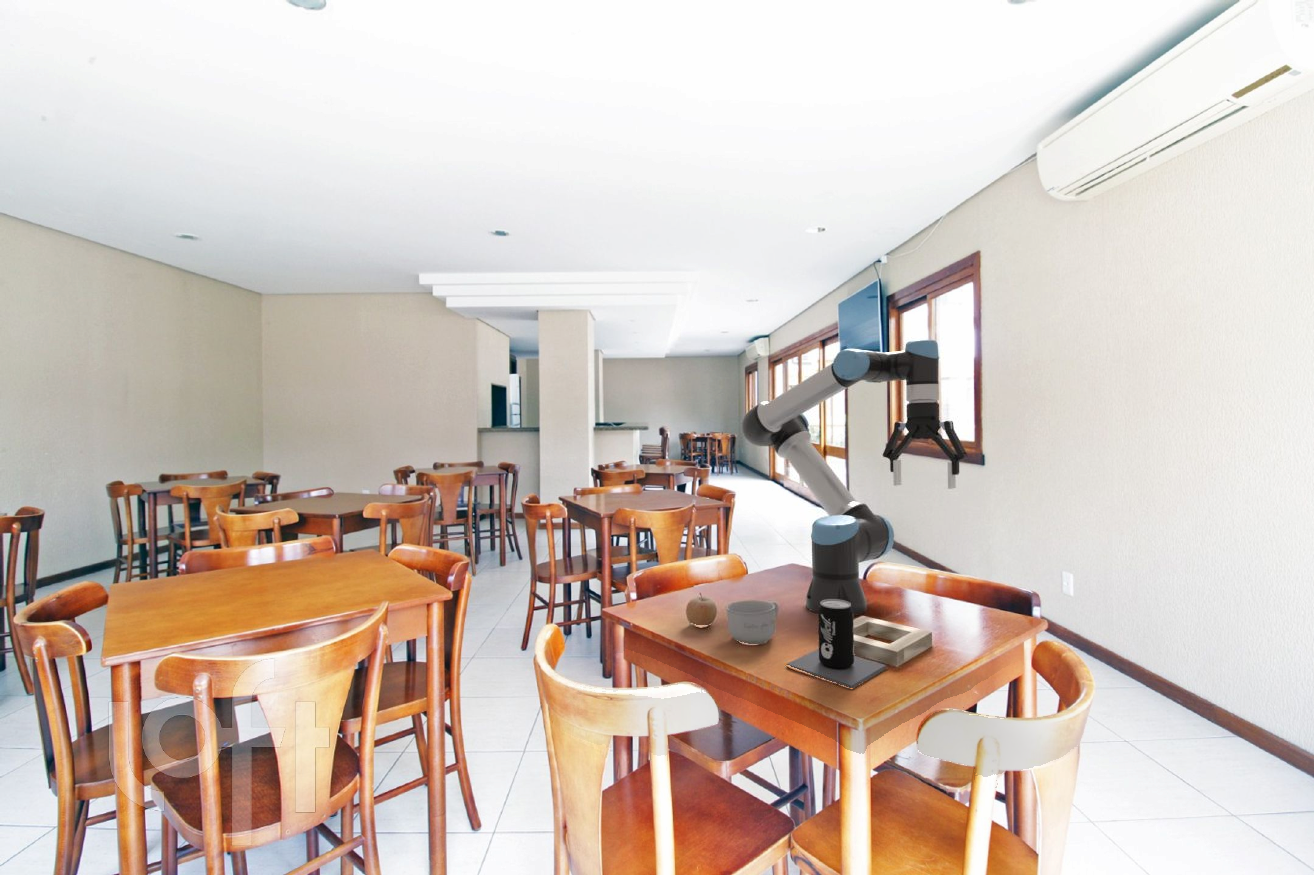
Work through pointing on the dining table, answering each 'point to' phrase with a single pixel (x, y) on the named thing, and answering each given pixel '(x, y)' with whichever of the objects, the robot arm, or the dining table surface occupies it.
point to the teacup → (752, 620)
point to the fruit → (701, 611)
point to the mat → (846, 677)
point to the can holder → (904, 638)
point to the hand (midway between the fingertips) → (923, 486)
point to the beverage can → (836, 634)
